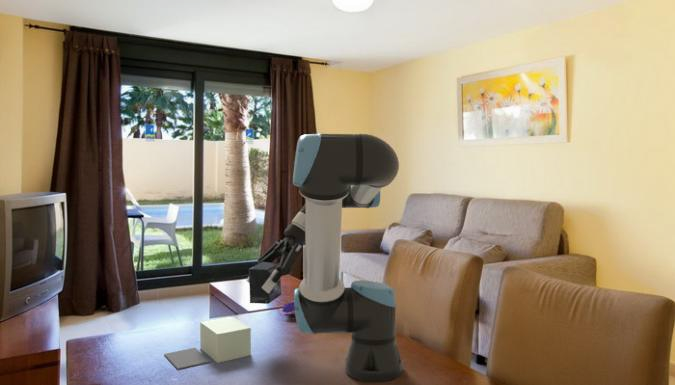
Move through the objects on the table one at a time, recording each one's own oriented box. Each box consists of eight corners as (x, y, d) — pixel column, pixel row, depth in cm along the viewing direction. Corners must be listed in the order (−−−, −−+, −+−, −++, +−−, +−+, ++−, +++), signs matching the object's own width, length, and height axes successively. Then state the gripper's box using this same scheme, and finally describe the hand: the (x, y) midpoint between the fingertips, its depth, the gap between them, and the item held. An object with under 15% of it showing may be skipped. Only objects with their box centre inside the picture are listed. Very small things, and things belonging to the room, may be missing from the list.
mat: (210, 362, 135) (210, 360, 135) (177, 369, 130) (177, 368, 130) (195, 348, 146) (194, 347, 146) (164, 355, 141) (164, 353, 141)
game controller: (277, 302, 186) (303, 297, 186) (281, 324, 184) (307, 318, 184) (273, 301, 176) (300, 295, 177) (277, 324, 174) (305, 317, 175)
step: (250, 355, 141) (250, 327, 140) (217, 362, 135) (217, 334, 135) (231, 342, 152) (231, 316, 152) (200, 348, 146) (200, 322, 146)
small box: (269, 304, 142) (267, 268, 141) (249, 303, 144) (247, 268, 143) (282, 294, 152) (280, 261, 152) (263, 294, 154) (261, 261, 153)
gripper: (326, 241, 145) (282, 302, 138) (291, 233, 165) (250, 286, 158) (310, 225, 142) (264, 286, 135) (276, 219, 162) (234, 272, 155)
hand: (257, 286), depth 146 cm, fingers closed on small box, 11 cm apart
